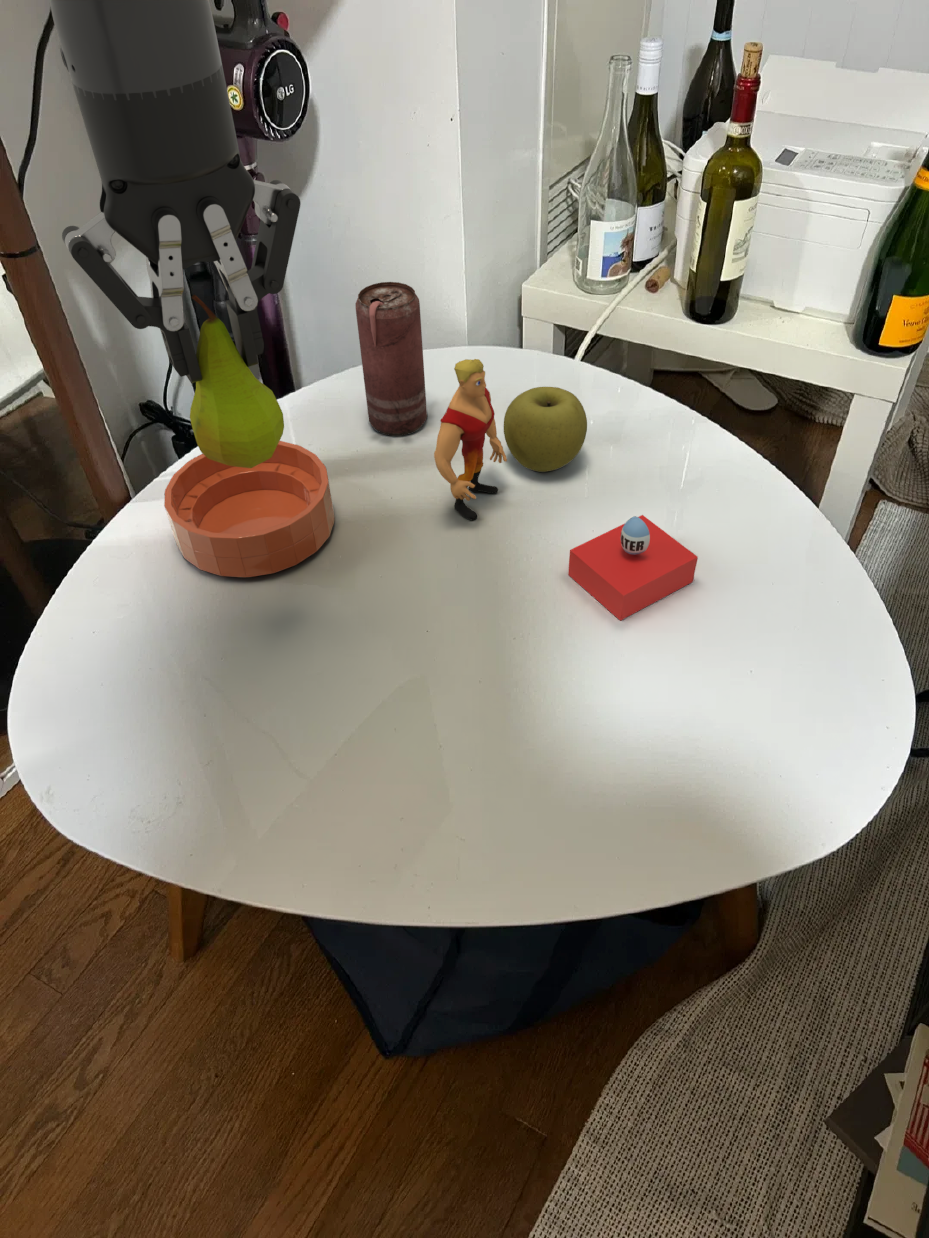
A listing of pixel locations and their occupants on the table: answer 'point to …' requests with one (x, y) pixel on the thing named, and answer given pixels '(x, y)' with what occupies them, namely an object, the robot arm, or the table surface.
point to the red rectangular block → (632, 566)
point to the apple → (545, 428)
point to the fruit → (231, 402)
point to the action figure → (467, 435)
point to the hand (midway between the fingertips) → (221, 367)
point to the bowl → (250, 512)
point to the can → (392, 357)
